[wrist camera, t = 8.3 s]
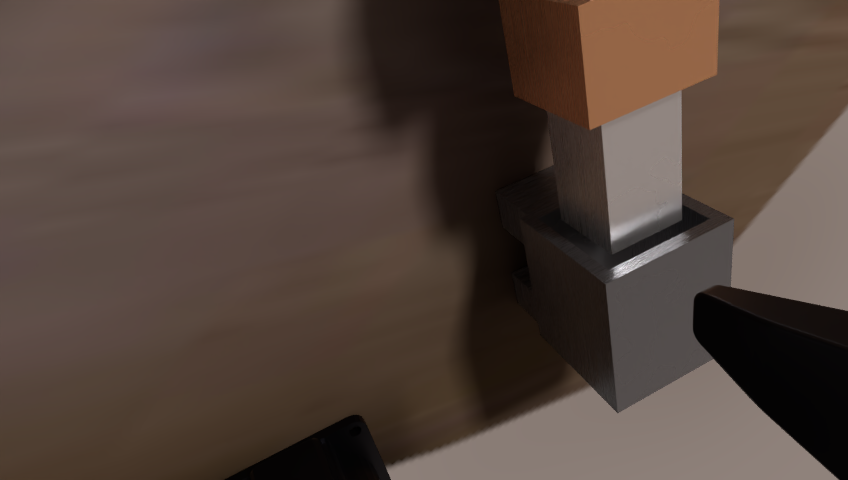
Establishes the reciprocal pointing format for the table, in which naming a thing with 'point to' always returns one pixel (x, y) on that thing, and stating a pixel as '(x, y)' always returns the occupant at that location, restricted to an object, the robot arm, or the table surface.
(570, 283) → the metal sleeve
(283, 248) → the table surface
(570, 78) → the grey and copper post
